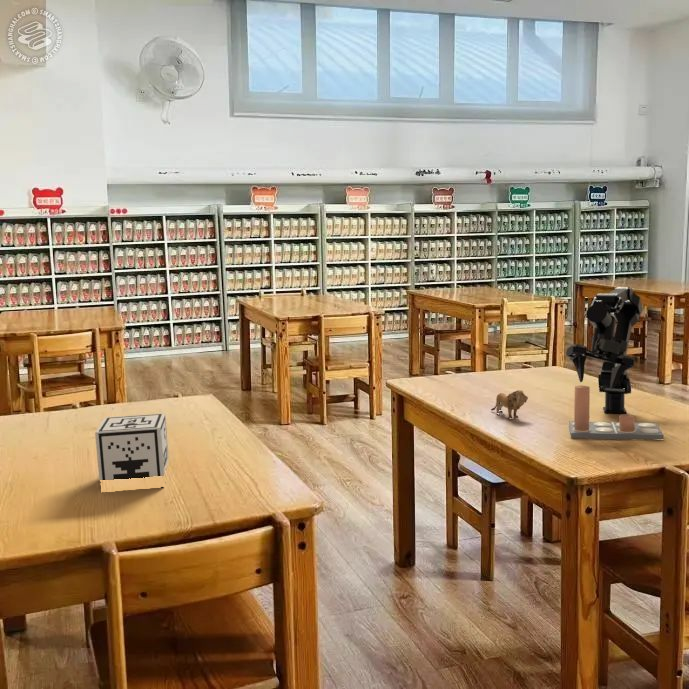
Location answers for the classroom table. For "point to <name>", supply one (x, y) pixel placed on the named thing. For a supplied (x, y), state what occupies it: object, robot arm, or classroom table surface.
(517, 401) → the lion figurine
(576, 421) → the terracotta pin
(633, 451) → the classroom table surface
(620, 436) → the pattern board
